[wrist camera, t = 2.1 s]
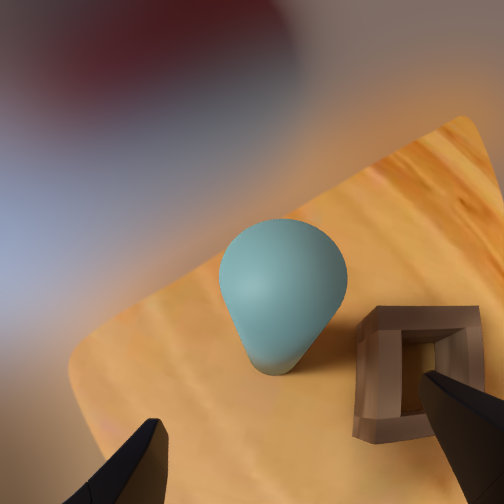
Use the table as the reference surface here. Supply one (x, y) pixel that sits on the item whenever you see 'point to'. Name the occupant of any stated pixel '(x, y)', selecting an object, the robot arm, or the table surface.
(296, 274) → the teal cylinder rod
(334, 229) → the table surface
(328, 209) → the table surface
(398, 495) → the table surface
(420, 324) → the hole block
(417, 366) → the table surface
